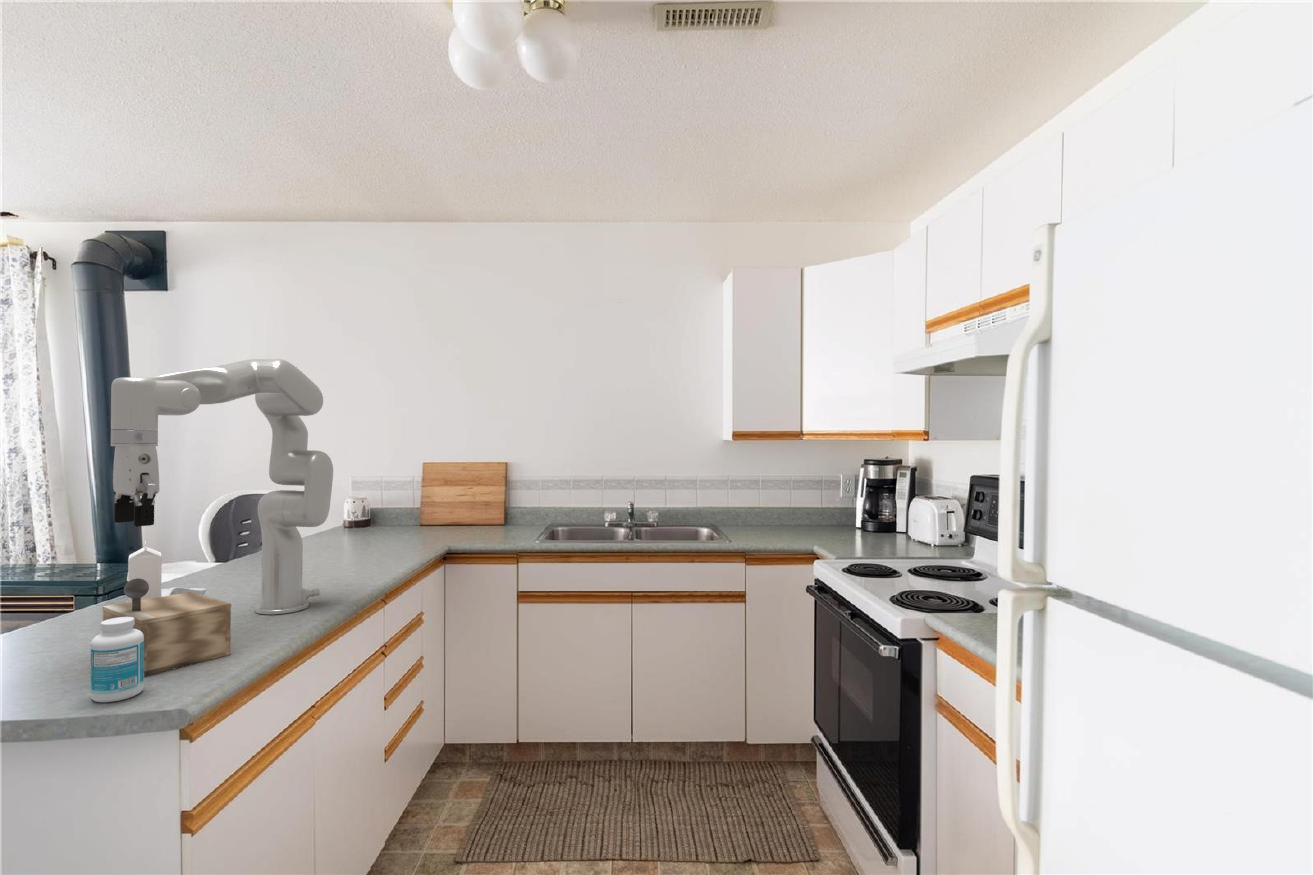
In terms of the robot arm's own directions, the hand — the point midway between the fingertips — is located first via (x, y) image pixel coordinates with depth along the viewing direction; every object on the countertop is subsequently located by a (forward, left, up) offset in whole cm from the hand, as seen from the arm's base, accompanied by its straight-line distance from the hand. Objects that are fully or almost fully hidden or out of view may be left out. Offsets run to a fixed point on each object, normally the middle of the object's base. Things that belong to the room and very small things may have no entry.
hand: (133, 523), depth 135 cm
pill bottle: (+8, +17, -29) cm, 34 cm away
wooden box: (-6, +1, -28) cm, 29 cm away
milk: (-9, -18, -29) cm, 35 cm away
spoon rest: (-24, -41, -29) cm, 56 cm away
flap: (-6, +1, -18) cm, 19 cm away
